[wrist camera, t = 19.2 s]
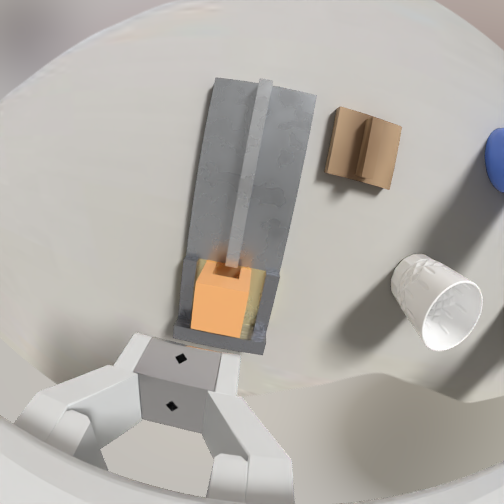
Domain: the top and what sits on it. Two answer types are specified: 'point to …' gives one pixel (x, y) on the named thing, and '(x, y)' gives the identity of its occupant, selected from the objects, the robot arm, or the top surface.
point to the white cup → (436, 301)
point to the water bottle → (495, 158)
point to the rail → (245, 199)
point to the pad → (363, 148)
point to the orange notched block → (220, 301)
